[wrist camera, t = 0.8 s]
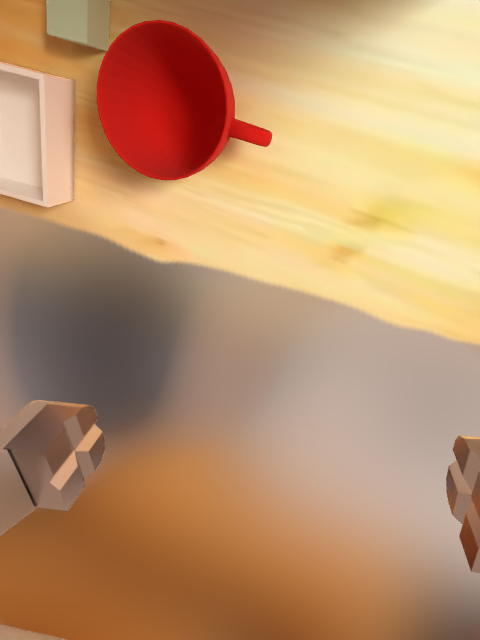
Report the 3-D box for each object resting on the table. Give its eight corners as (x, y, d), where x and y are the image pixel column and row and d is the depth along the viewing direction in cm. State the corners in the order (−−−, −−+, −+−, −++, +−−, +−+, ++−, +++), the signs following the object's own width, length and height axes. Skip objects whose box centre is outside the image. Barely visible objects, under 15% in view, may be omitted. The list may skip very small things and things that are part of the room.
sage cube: (72, -8, 41) (45, -22, 37) (111, 2, 40) (87, -12, 36) (72, 42, 43) (46, 34, 39) (108, 52, 43) (86, 44, 39)
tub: (-34, 52, 46) (-76, 42, 41) (74, 80, 44) (44, 74, 40) (-21, 173, 52) (-56, 177, 48) (73, 200, 51) (47, 207, 46)
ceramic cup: (262, 195, 46) (247, 210, 37) (134, 152, 47) (90, 158, 38) (297, 73, 40) (290, 57, 31) (149, 27, 41) (101, -1, 32)
